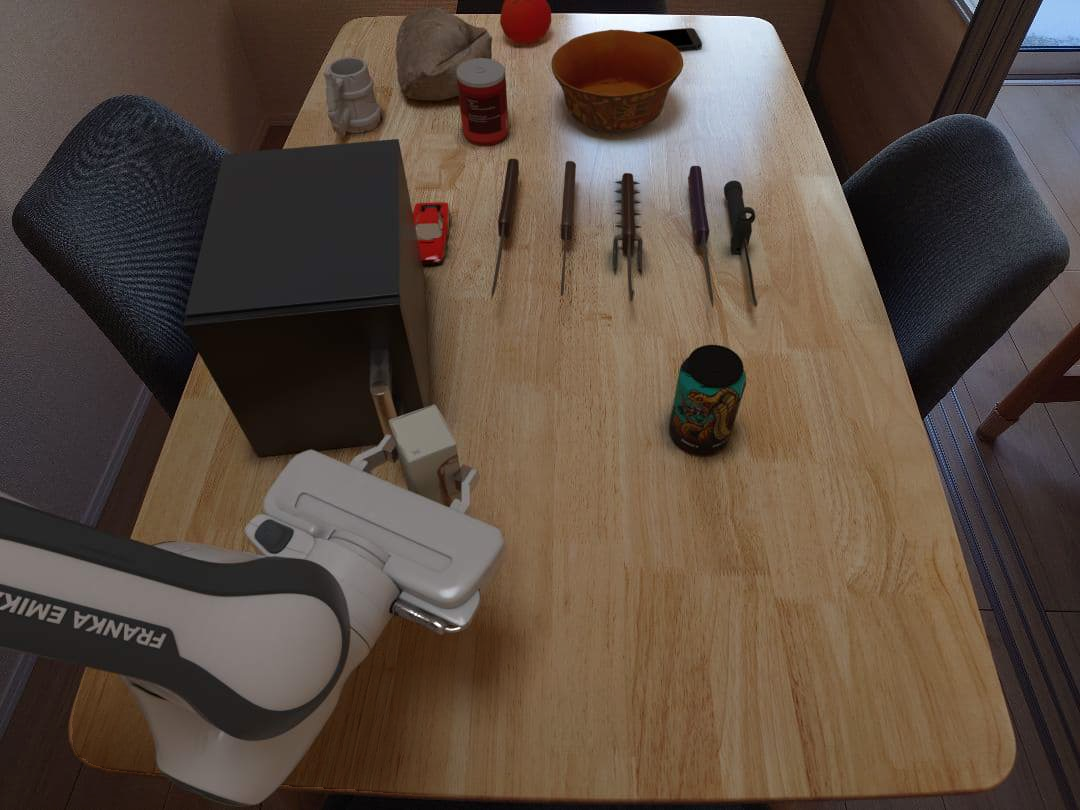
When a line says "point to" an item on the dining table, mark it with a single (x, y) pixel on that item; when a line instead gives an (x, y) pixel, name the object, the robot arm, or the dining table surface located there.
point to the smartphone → (679, 37)
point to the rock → (436, 52)
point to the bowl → (616, 77)
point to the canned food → (483, 101)
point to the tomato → (525, 20)
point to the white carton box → (427, 454)
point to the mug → (351, 96)
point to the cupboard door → (312, 372)
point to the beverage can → (707, 399)
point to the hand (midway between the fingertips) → (433, 455)
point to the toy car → (432, 230)
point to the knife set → (698, 215)
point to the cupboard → (313, 236)
